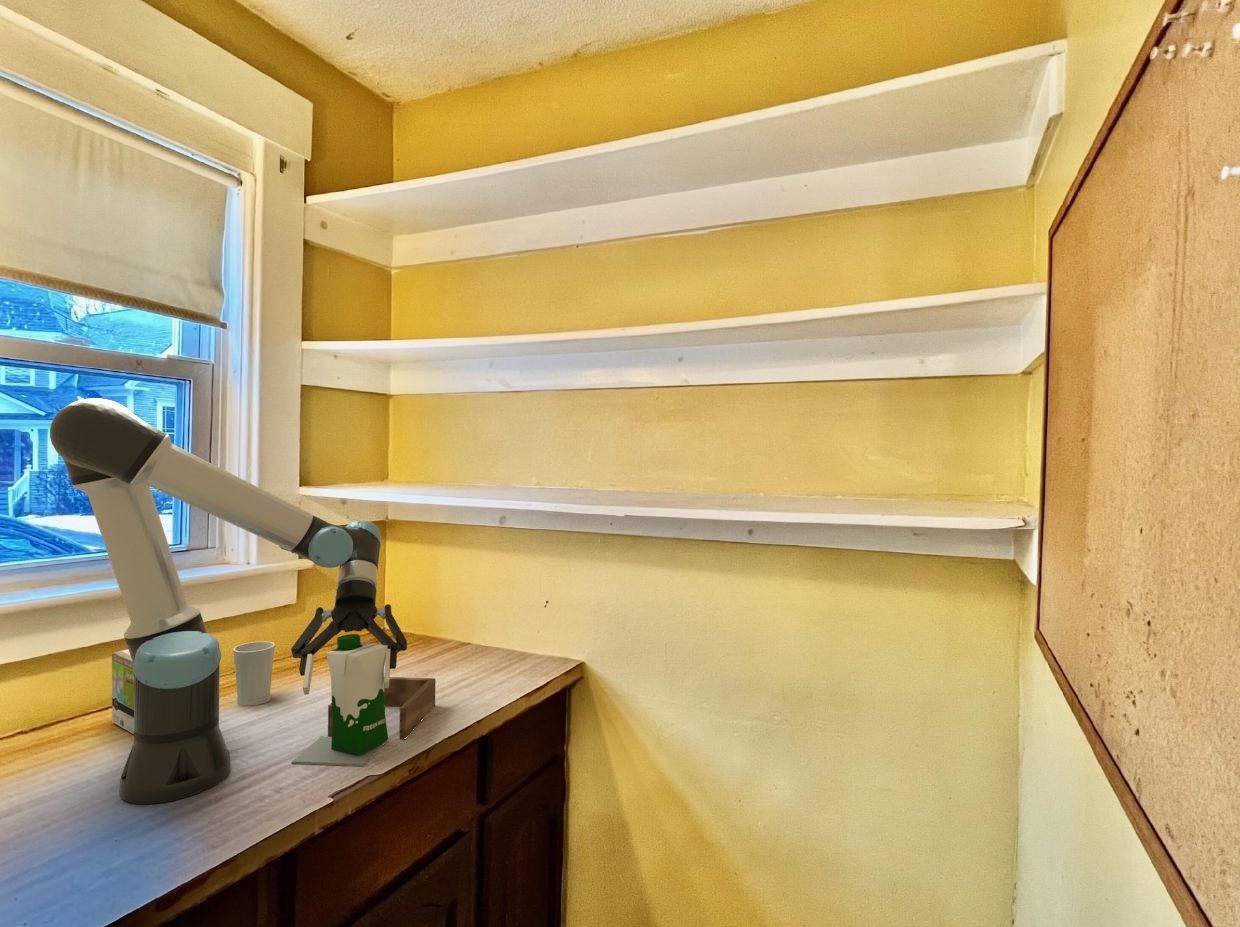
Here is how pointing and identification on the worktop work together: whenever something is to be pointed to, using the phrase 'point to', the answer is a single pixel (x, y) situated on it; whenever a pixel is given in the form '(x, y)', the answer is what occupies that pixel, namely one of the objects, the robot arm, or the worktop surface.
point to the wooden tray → (405, 701)
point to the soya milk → (357, 694)
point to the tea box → (123, 690)
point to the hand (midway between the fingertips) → (346, 688)
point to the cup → (253, 672)
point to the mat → (332, 755)
